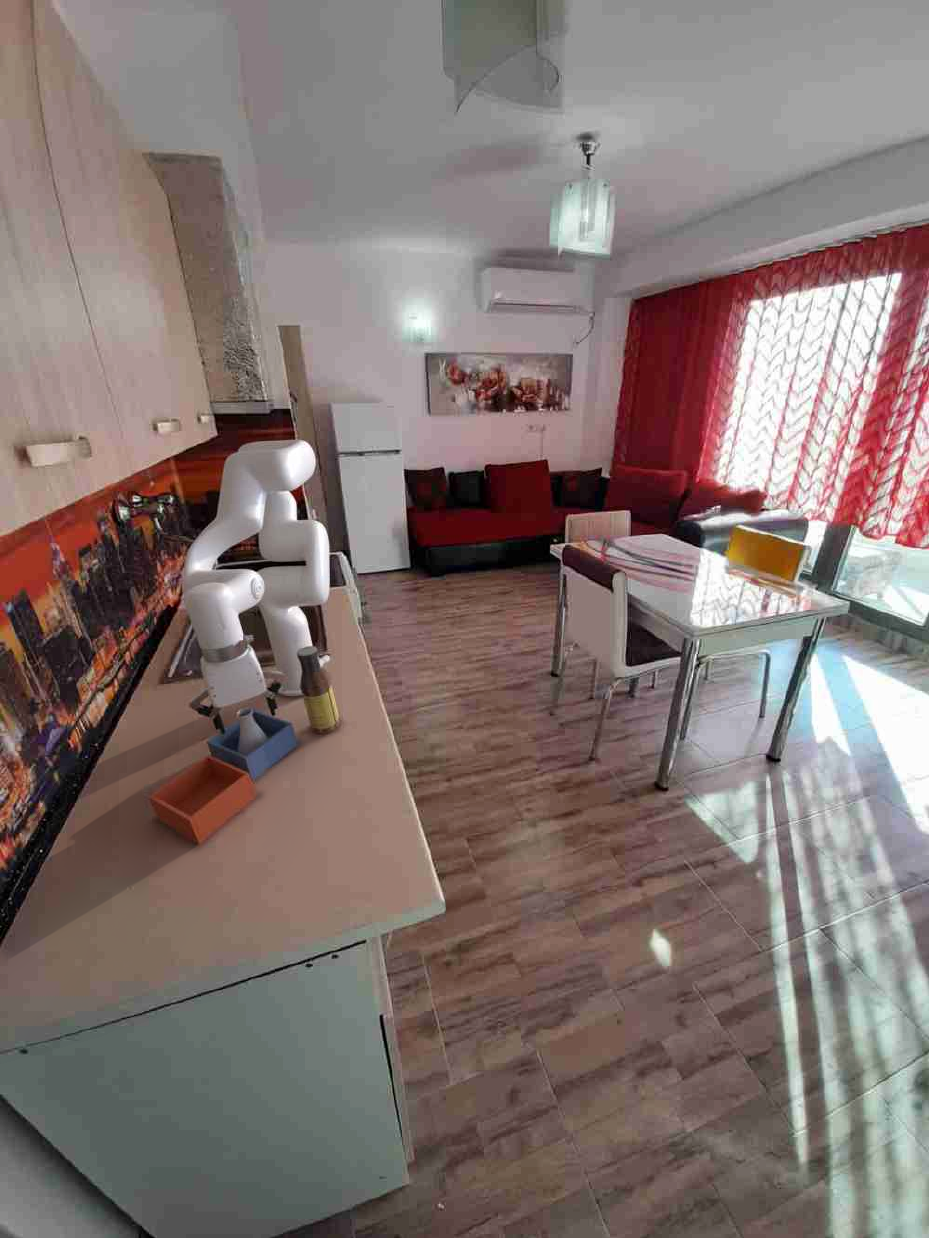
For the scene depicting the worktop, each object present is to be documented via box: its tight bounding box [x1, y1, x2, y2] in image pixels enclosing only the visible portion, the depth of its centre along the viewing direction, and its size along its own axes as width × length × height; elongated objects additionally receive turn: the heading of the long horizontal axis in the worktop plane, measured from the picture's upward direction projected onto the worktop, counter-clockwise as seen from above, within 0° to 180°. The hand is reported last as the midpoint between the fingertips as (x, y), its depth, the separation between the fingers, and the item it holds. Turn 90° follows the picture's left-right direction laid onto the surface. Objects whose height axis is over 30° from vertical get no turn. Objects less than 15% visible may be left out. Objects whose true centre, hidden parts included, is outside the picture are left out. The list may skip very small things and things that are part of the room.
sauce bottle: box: [297, 645, 340, 734], centre depth 102 cm, size 6×6×20 cm
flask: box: [235, 707, 269, 756], centre depth 97 cm, size 7×7×10 cm
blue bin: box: [206, 709, 299, 782], centre depth 98 cm, size 12×12×6 cm
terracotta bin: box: [147, 754, 257, 845], centre depth 85 cm, size 12×12×6 cm
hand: (248, 721), depth 96 cm, fingers open, 9 cm apart
